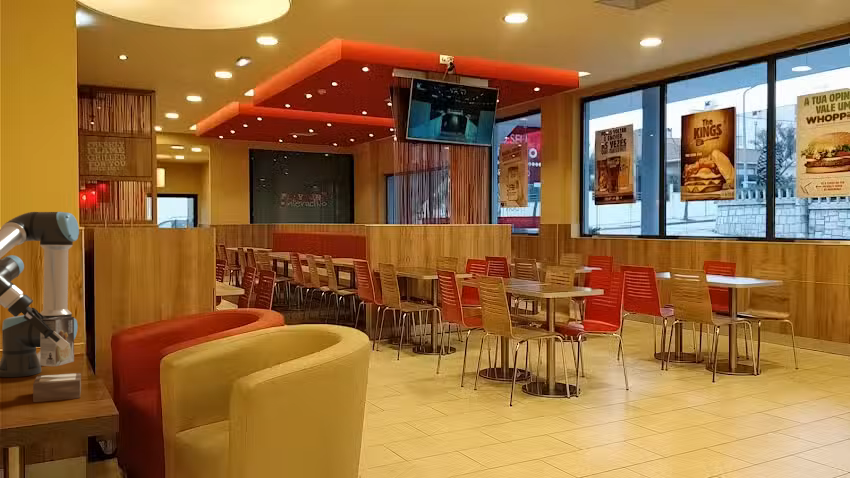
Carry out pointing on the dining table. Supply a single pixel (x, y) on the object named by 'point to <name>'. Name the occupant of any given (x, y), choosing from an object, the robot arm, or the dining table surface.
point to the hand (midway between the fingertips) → (67, 344)
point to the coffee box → (53, 352)
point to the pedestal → (57, 387)
